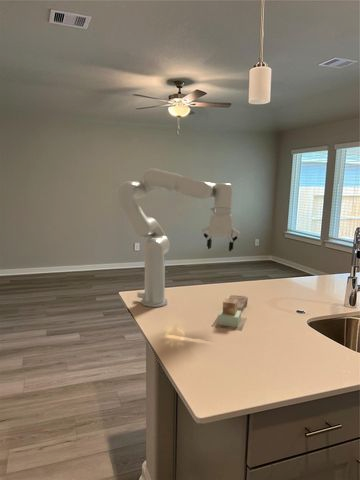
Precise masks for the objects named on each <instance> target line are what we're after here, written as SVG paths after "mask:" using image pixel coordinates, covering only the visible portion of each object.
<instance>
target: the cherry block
mask: <svg viewBox="0 0 360 480" xmlns="http://www.w3.org/2000/svg"><path fill="white" fill-rule="evenodd" d="M222 309H223V314H226V315H234V316H235V314H236V312H237V300H234V299H229V298H224V300H223V302H222Z"/></svg>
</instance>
